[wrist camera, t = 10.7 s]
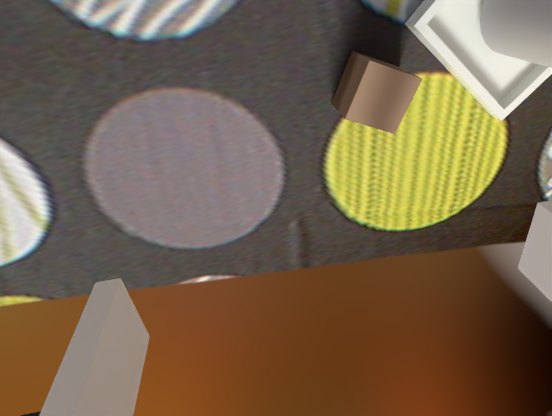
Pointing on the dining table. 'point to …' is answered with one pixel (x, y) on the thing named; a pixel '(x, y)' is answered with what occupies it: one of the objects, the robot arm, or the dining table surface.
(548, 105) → the dining table surface
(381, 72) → the walnut block
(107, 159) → the dining table surface
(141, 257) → the dining table surface
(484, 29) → the can
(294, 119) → the dining table surface
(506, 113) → the tray
